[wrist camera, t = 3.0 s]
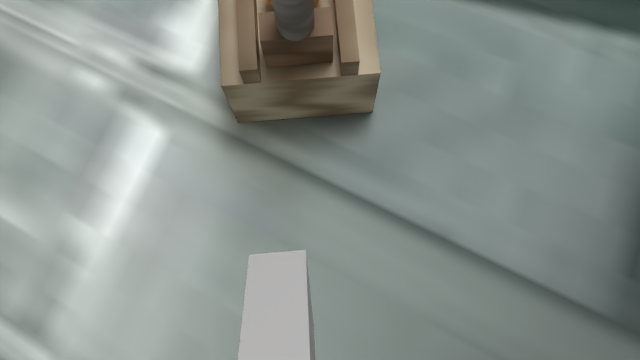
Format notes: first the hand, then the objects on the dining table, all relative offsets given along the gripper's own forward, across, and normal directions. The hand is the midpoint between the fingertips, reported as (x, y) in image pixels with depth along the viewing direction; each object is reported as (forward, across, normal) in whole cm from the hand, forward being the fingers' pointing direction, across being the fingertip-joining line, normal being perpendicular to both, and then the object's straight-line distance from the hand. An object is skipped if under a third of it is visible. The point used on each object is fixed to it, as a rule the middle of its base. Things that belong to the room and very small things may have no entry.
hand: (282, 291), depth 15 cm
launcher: (+33, +1, -3) cm, 33 cm away
